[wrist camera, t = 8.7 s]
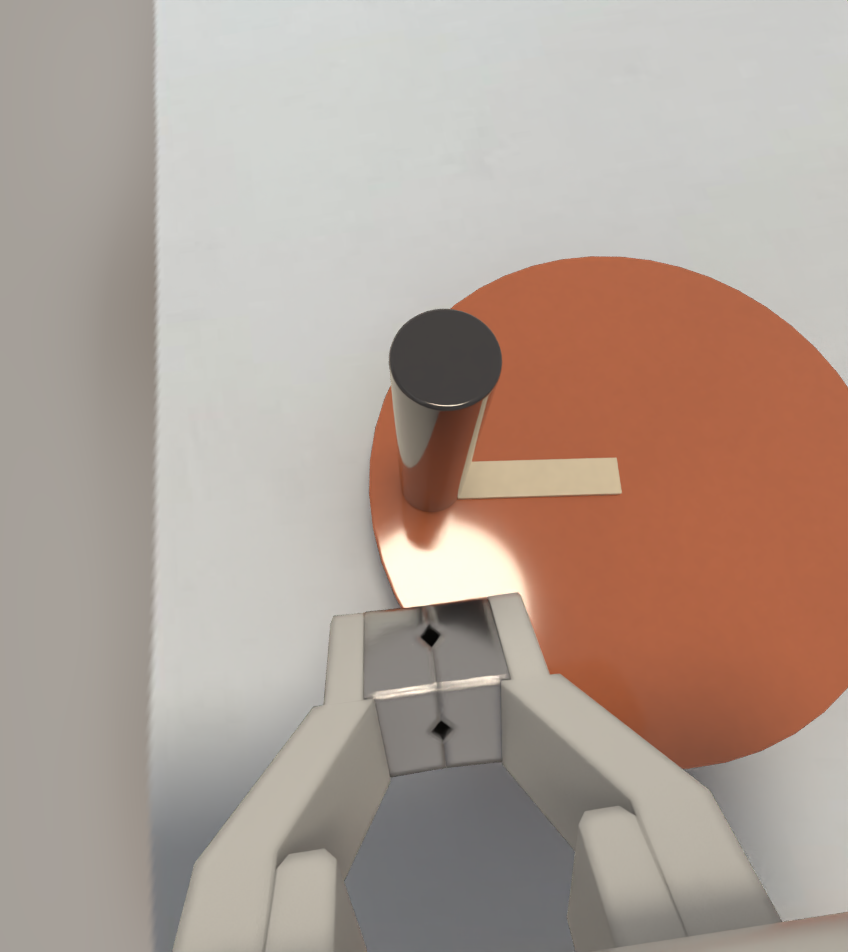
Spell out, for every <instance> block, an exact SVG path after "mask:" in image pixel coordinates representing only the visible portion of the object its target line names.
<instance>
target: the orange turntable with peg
mask: <svg viewBox="0 0 848 952" xmlns="http://www.w3.org/2000/svg"><path fill="white" fill-rule="evenodd" d="M389 369H390V380H391V386H390V388H389V390H388V392H387V394H386V396H385V399H384V402H383V405H382V408H381V411H380V414H379V418H378V421H377V424H376V427H375V432H374V438H373V444H372V450H371V457H370V475H369V498H370V507H371V516H372V525H373V531H374V535H375V539H376V543H377V547H378V551H379V555H380V559H381V563H382V565H383V568H384V570H385V573H386V575H387V578H388V580H389V583H390V585H391V588H392V590H393V593H394V595H395V598H396V600H397V601H398V603H399V605H400V607H401V608H407V607H417V606H426V605H430V604H438V603H445V602H452V601H459V600H466V599H474V598H481V597H486V598H487V596H494V595H501V594H508V593H515V592H518V593H519V594H520V595H521V597H522V599H523V602H524V605H525V607H526V610H527V613H528V616H529V618H530V621H531V624H532V627H533V629H534V632H535V635H536V638H537V640H538V643H539V646H540V649H541V651H542V654H543V657H544V659H545V662H546V665H547V668H548V670H549V673H550V674H561V675H563V676H564V677H565V678H566V679H568V680H569V681H570V682H572V683H573V684H574V685H575V686H577V687H578V688H579V689H580V690H582V691H583V692H584V693H586V694H587V695H588V696H589V697H591V698H592V699H593V700H595V701H596V702H597V703H598V704H600V705H601V706H602V707H604V708H605V709H606V710H607V711H609V712H610V713H611V714H613V715H614V716H615V717H616V718H618V719H619V720H620V721H622V722H623V723H624V724H625V725H627V726H628V727H629V728H631V729H632V730H633V731H634V732H636V733H637V734H638V735H640V736H641V737H642V738H643V739H645V740H646V741H647V742H648V743H650V744H651V745H652V746H654V747H655V748H656V749H657V750H659V751H660V752H661V753H663V754H664V755H665V756H666V757H668V758H669V759H670V760H672V761H673V762H674V763H675V764H677V765H678V766H679V767H681V768H682V769H690V768H696V767H703V766H709V765H715V764H721V763H726V762H729V761H732V760H736V759H739V758H742V757H745V756H748V755H751V754H754V753H757V752H760V751H762V750H764V749H766V748H768V747H770V746H772V745H774V744H776V743H778V742H780V741H782V740H784V739H786V738H788V737H790V736H792V735H794V734H795V733H797V732H798V731H799V730H801V729H802V728H804V727H805V726H806V725H808V724H809V723H810V722H812V721H813V720H814V719H816V718H817V717H818V716H820V715H821V714H822V713H824V712H825V711H826V710H827V709H828V708H829V707H830V706H831V705H832V704H833V703H834V702H835V701H836V699H837V698H838V697H839V696H840V695H841V694H842V693H843V692H844V691H845V690H846V689H847V688H848V387H847V385H846V384H845V382H844V381H843V380H842V378H841V377H840V375H839V374H838V373H837V371H836V370H835V369H834V368H833V367H832V366H831V365H830V363H829V362H828V361H827V360H826V359H825V358H824V357H823V356H822V354H821V353H820V352H819V351H818V350H817V349H816V348H815V347H814V346H813V345H812V344H811V343H810V342H809V341H808V340H807V339H806V338H804V337H803V336H802V335H801V334H800V333H799V332H798V331H797V330H796V329H795V328H794V327H792V326H791V325H790V324H789V323H787V322H786V321H785V320H783V319H782V318H780V317H779V316H778V315H776V314H775V313H774V312H772V311H771V310H770V309H768V308H767V307H766V306H764V305H762V304H761V303H759V302H757V301H756V300H754V299H752V298H750V297H749V296H747V295H745V294H744V293H742V292H740V291H739V290H737V289H734V288H732V287H730V286H728V285H726V284H724V283H721V282H719V281H717V280H715V279H713V278H711V277H708V276H705V275H702V274H699V273H696V272H693V271H690V270H687V269H684V268H682V267H678V266H673V265H669V264H665V263H660V262H656V261H651V260H644V259H636V258H627V257H595V256H590V257H580V258H571V259H561V260H557V261H552V262H548V263H543V264H539V265H534V266H531V267H528V268H525V269H522V270H519V271H517V272H514V273H511V274H508V275H505V276H503V277H501V278H499V279H497V280H495V281H493V282H491V283H489V284H487V285H485V286H483V287H481V288H479V289H478V290H476V291H475V292H473V293H472V294H470V295H469V296H467V297H466V298H464V299H463V300H461V301H460V302H458V303H457V304H455V305H454V306H453V307H452V308H451V309H435V310H431V311H427V312H424V313H421V314H419V315H417V316H415V317H414V318H412V319H410V320H409V321H408V322H407V323H406V324H404V325H403V327H402V328H401V329H400V330H399V331H398V333H397V334H396V336H395V337H394V339H393V342H392V344H391V347H390V352H389Z"/></svg>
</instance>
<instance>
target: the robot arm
mask: <svg viewBox="0 0 848 952" xmlns="http://www.w3.org/2000/svg"><path fill="white" fill-rule="evenodd" d="M495 762H502V765H503V766H504V767H505V768H506V770H507V771H508V772H509V773H510V774H511V776H512V777H513V778H514V779H515V780H516V782H517V783H518V784H519V785H520V786H521V788H522V789H523V790H524V791H525V792H526V793H527V795H528V796H529V797H530V798H531V799H532V801H533V802H534V803H535V804H536V805H537V807H538V808H539V809H540V810H541V811H542V813H543V814H544V815H545V816H546V817H547V819H548V820H549V821H550V822H551V823H552V825H553V826H554V827H555V828H556V829H557V831H558V832H559V833H560V834H561V835H562V837H563V838H564V839H565V840H566V841H567V843H568V844H569V845H570V846H571V847H572V849H573V850H574V851H575V857H574V865H573V873H572V881H571V889H570V897H569V905H568V913H567V921H568V925H569V929H570V933H571V936H572V940H573V944H574V948H575V952H848V912H843V913H837V914H830V915H824V916H817V917H811V918H804V919H798V920H792V921H785V922H782V920H781V919H780V917H779V915H778V913H777V911H776V910H775V908H774V906H773V904H772V902H771V900H770V899H769V897H768V895H767V893H766V891H765V890H764V888H763V886H762V884H761V882H760V881H759V879H758V877H757V875H756V873H755V871H754V870H753V868H752V866H751V864H750V862H749V861H748V859H747V857H746V855H745V853H744V851H743V850H742V848H741V846H740V844H739V842H738V841H737V839H736V837H735V835H734V833H733V831H732V830H731V828H730V826H729V824H728V822H727V821H726V819H725V817H724V815H723V813H722V812H721V810H720V808H719V806H718V804H717V802H716V801H715V799H714V797H713V795H712V793H711V792H710V790H709V789H708V788H706V787H705V786H704V785H702V784H701V783H700V782H699V781H697V780H696V779H695V778H693V777H692V776H691V775H690V774H688V773H687V772H686V771H684V770H683V769H682V768H681V767H679V766H678V765H677V764H675V763H674V762H673V761H672V760H670V759H669V758H668V757H666V756H665V755H664V754H663V753H661V752H660V751H659V750H657V749H656V748H655V747H654V746H652V745H651V744H650V743H648V742H647V741H646V740H645V739H643V738H642V737H641V736H640V735H638V734H637V733H636V732H634V731H633V730H632V729H631V728H629V727H628V726H627V725H625V724H624V723H623V722H622V721H620V720H619V719H618V718H616V717H615V716H614V715H613V714H611V713H610V712H609V711H607V710H606V709H605V708H604V707H602V706H601V705H600V704H598V703H597V702H596V701H595V700H593V699H592V698H591V697H589V696H588V695H587V694H586V693H584V692H583V691H582V690H580V689H579V688H578V687H577V686H575V685H574V684H573V683H572V682H570V681H569V680H568V679H566V678H565V677H564V676H563V675H561V674H550V673H549V670H548V668H547V665H546V662H545V659H544V657H543V654H542V651H541V649H540V646H539V643H538V640H537V638H536V635H535V632H534V629H533V627H532V624H531V621H530V618H529V616H528V613H527V610H526V607H525V605H524V602H523V599H522V597H521V595H520V594H519V593H518V592H515V593H508V594H501V595H494V596H487V598H486V597H481V598H474V599H466V600H459V601H452V602H445V603H438V604H430V605H426V606H417V607H407V608H397V609H388V610H378V611H369V612H365V613H357V614H347V615H337V616H333V618H332V621H331V624H330V635H329V646H328V658H327V670H326V682H325V694H324V705H321V706H315V707H313V708H312V709H311V711H310V712H309V713H308V715H307V716H306V717H305V719H304V720H303V721H302V723H301V724H300V725H299V727H298V728H297V729H296V730H295V732H294V733H293V734H292V736H291V737H290V738H289V740H288V741H287V742H286V744H285V745H284V746H283V748H282V749H281V750H280V752H279V753H278V754H277V755H276V757H275V758H274V759H273V761H272V762H271V763H270V765H269V766H268V767H267V769H266V770H265V771H264V773H263V774H262V775H261V777H260V778H259V779H258V780H257V782H256V783H255V784H254V786H253V787H252V788H251V790H250V791H249V792H248V794H247V795H246V796H245V798H244V799H243V800H242V802H241V803H240V804H239V805H238V807H237V808H236V809H235V811H234V812H233V813H232V815H231V816H230V817H229V819H228V820H227V821H226V823H225V824H224V825H223V827H222V828H221V829H220V831H219V832H218V833H217V834H216V836H215V837H214V838H213V840H212V841H211V842H210V844H209V845H208V846H207V848H206V849H205V850H204V852H203V853H202V854H201V856H200V857H199V858H198V859H197V861H196V862H195V864H194V868H193V872H192V875H191V879H190V883H189V887H188V891H187V895H186V899H185V903H184V907H183V911H182V915H181V919H180V923H179V927H178V930H177V934H176V938H175V942H174V946H173V950H172V952H367V948H366V945H365V942H364V939H363V936H362V933H361V930H360V927H359V924H358V921H357V918H356V915H355V912H354V909H353V907H352V904H351V901H350V898H349V895H348V892H347V889H346V886H345V883H344V881H345V878H346V876H347V874H348V872H349V870H350V868H351V866H352V863H353V861H354V859H355V857H356V855H357V853H358V851H359V848H360V846H361V844H362V842H363V840H364V838H365V836H366V834H367V831H368V829H369V827H370V825H371V823H372V821H373V819H374V816H375V814H376V812H377V810H378V808H379V806H380V804H381V801H382V799H383V797H384V795H385V793H386V791H387V789H388V787H389V784H390V782H391V779H390V777H396V776H402V775H408V774H414V773H419V772H425V771H431V770H437V769H443V768H450V767H459V766H468V765H477V764H486V763H495Z"/></svg>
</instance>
